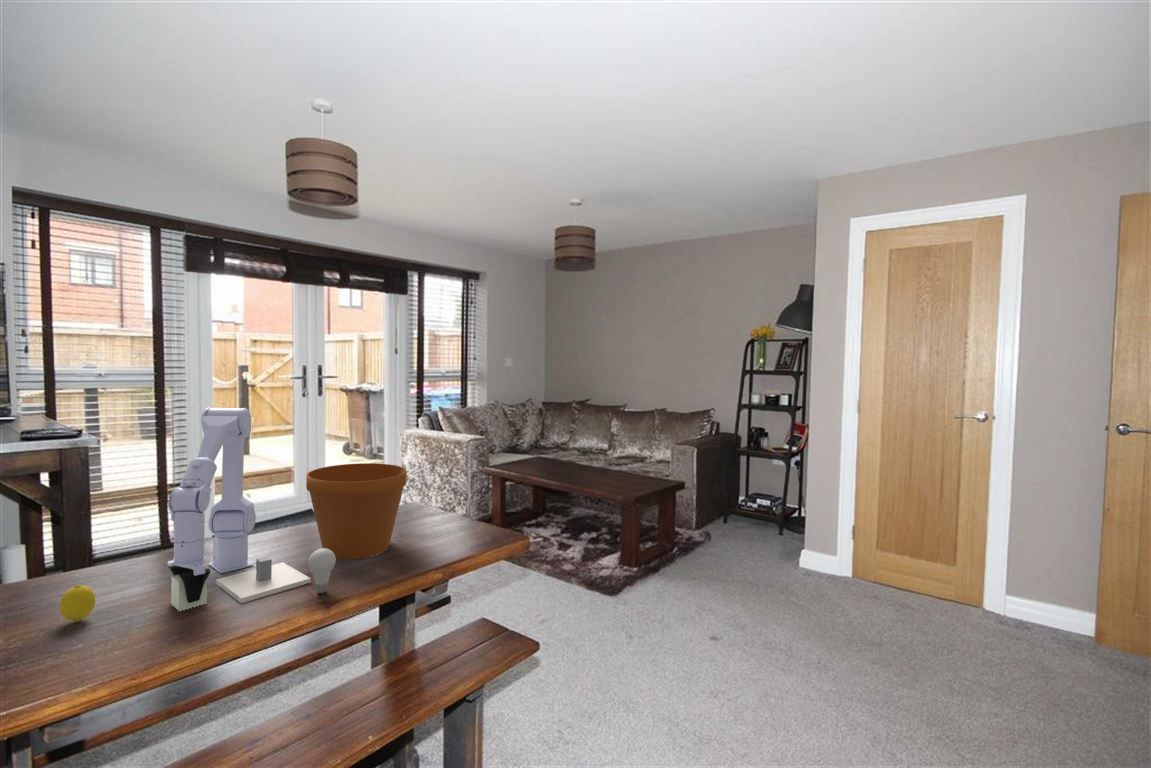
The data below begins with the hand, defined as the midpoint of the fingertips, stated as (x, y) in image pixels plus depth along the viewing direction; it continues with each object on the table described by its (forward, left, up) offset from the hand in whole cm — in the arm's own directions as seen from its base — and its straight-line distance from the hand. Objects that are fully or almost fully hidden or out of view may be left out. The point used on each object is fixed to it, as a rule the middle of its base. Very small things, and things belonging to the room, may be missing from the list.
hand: (189, 597), depth 124 cm
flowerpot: (-7, +45, -2) cm, 46 cm away
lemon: (-7, -18, -2) cm, 19 cm away
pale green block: (0, 0, -2) cm, 2 cm away
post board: (0, +16, -2) cm, 16 cm away
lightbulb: (+16, +23, -2) cm, 28 cm away
